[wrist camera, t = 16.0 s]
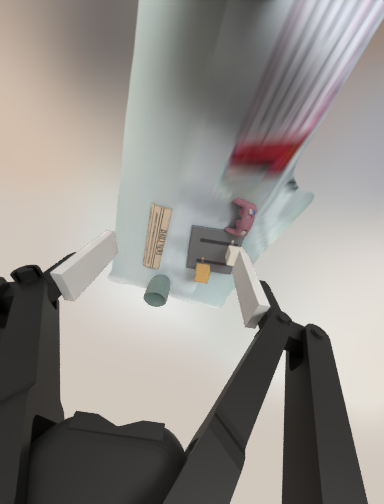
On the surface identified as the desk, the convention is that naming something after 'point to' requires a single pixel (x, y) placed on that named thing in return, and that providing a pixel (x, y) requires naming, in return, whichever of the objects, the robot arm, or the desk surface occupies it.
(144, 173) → the desk surface
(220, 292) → the desk surface
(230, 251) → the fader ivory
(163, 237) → the newspaper
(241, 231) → the video game controller
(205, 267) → the fader amber
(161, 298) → the cup
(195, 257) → the mixer console
